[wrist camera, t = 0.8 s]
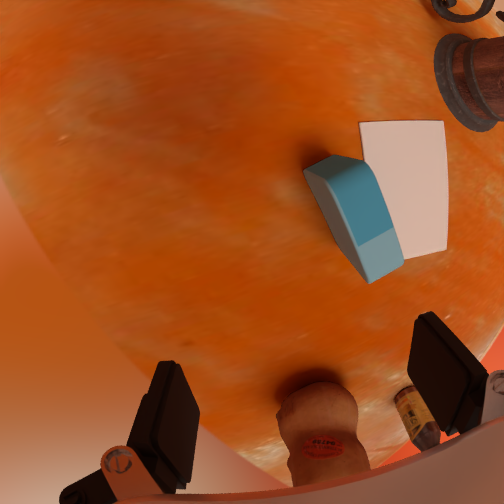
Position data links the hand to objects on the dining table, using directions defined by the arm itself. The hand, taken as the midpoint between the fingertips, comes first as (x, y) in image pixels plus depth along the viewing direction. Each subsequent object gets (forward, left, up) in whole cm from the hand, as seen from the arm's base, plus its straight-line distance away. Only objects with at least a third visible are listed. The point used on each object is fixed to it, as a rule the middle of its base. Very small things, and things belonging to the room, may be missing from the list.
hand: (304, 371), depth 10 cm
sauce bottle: (+45, +25, -29) cm, 59 cm away
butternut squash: (+35, +4, -29) cm, 46 cm away
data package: (+1, +10, -29) cm, 30 cm away
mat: (+1, +21, -28) cm, 35 cm away
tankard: (-19, +35, -29) cm, 49 cm away
